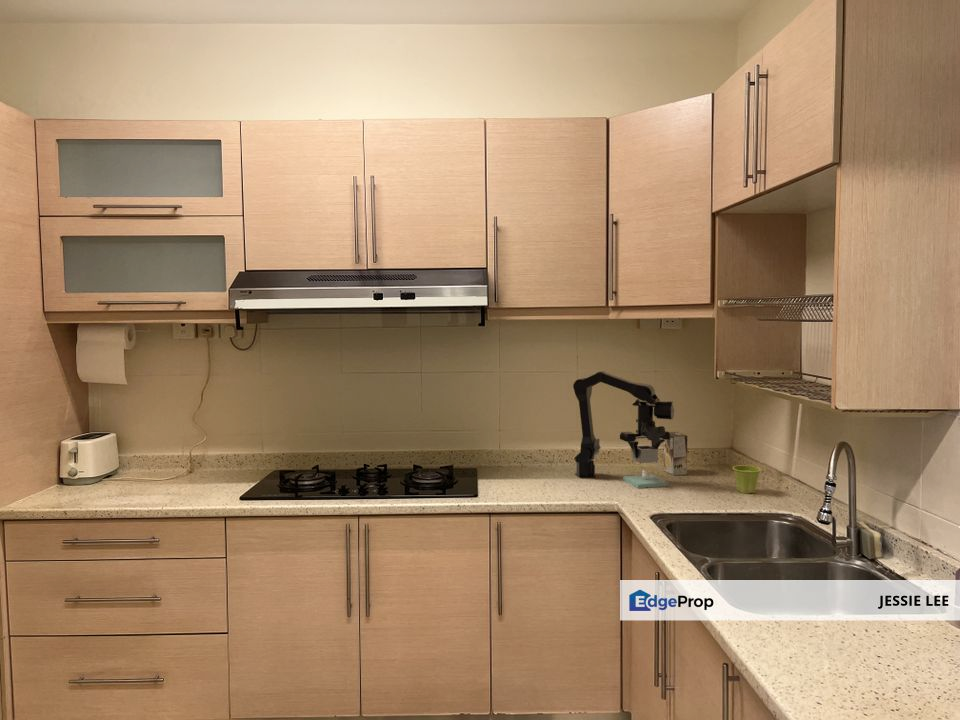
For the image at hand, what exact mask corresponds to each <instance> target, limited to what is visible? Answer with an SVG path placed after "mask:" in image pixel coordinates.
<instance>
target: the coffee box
mask: <svg viewBox="0 0 960 720" xmlns="http://www.w3.org/2000/svg"><path fill="white" fill-rule="evenodd" d="M668 432H669V433H670V435H671V438H670V439H667V440H665V442H663V471H665V472H666V473H669V474H670V475H672V476H682V475H683V476H684V475H688V435H686V434H683V433H680V432H678V431H668Z"/></svg>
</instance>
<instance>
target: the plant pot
mask: <svg viewBox="0 0 960 720" xmlns="http://www.w3.org/2000/svg"><path fill="white" fill-rule="evenodd" d="M732 469H733V472H734V476H735V485H736V490H737V492H739V493H742V494H748V495H749V494H755V493H756V490H757V483H758V478H759V475H760V472H761V471H762V469H761V468H760V467H757V466H753V465H746V464H745V465H743V464H740V465H734V466H732Z"/></svg>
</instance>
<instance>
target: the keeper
mask: <svg viewBox="0 0 960 720" xmlns="http://www.w3.org/2000/svg"><path fill="white" fill-rule="evenodd" d="M641 472H642V474H639V475H630V476H629V475H625V476H623V481H624V482H625V483H628V484H629V483H630V484H629V485H631V484H632V485H631V486H633V487H635V488H636V489H646V487H648V488H660V487H667V486H668V482H667V481H665V480H663V479H662V478H659V477H657V476H655V475H653V474H648V473H649V472H648V469H646V468H645V469H644V468H643V469H642V471H641Z"/></svg>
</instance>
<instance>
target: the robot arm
mask: <svg viewBox="0 0 960 720" xmlns="http://www.w3.org/2000/svg"><path fill="white" fill-rule="evenodd" d="M599 383H602V384H606V385H608V386H610V387H614V388H616V389H620V390H622V391H625V392H627V393H629V394H630V395H632V396H633V397H635V401H634V402H633V403H631V404H632V406H633V407H635V406H636V407H637V419H635V423H637V429H636V430H635V432H632V431H620V434H619V440H621V441H624V442H625V443H626V442H627V443H628V445H629V447H630V449H631V453H632V452H633V454H634V457H635V458H636V459H637V455H638V452H637V446H639V443H640V442H639V441H638V439H647V440H648V441H651V446H652V447H654V448H657V449H658V450H659V447H660V446H661V444H662V443H664V442H665V440H667V439H670V438H671V435H670V433H669V432H670V431H668V430H666V428H665V426H663V425H660V426H656V421H655V420H654V417H656V418H657V419H659V420H674V417H675V408H674V404H673V401H671V400H668V401H662V400H661V399H660V398H659V397H658V396H657V394H656V393H655V388H654V386H652V384H647V383H641V382H635V381H630V380H627V379H624V378H623V377H619V376H616V375H613V374H610V373H608V372H606V371H604V370H603V371H602V370H600V371H596V373H594V374H592V375H590V376H587V377H583V378H579V379H576V380H575V381H574V382H573V385H572V388H573V391H574V395H575V397H576V399H577V401H578V406H579V416H580V425H581V432H582V433H581V434H582V436H581V437H582V438H581V443H580V452H579V453H578V454H577V455H576V456H574V461H575V463H576V472H574V475H575V476H576V477H578V478H580V479H586V478H587V479H588V478H596V466H595V465H596V464H595V462H594V459H595V457H596V456H597V455H598V454H599V453H600V450H601V446H600V438H596V436H595V433H594V432H595V431H594V425H593V417H592V416H593V415H592V406H591V398H592V393H593V387H594V386H596V385H597V384H599Z"/></svg>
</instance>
